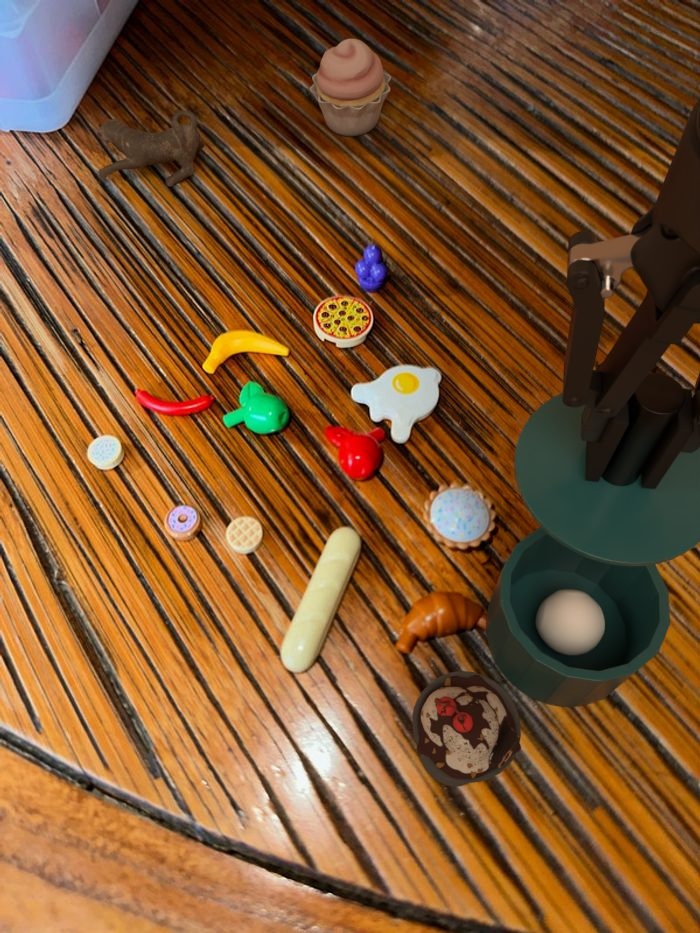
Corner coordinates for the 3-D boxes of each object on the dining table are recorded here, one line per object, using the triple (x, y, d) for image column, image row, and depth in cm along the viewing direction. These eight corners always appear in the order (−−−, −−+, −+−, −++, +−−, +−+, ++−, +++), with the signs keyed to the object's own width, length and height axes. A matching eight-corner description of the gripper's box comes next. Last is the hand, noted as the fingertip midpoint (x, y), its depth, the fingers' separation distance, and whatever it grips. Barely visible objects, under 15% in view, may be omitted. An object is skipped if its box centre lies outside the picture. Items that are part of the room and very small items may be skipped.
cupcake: (301, 138, 89) (293, 57, 80) (327, 89, 93) (322, 7, 85) (377, 153, 87) (377, 72, 79) (400, 103, 92) (403, 20, 83)
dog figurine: (211, 152, 89) (197, 93, 82) (206, 186, 86) (192, 129, 79) (109, 154, 89) (87, 97, 82) (101, 189, 86) (78, 132, 80)
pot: (631, 574, 62) (666, 531, 54) (635, 717, 56) (673, 692, 49) (490, 556, 63) (505, 512, 56) (480, 695, 58) (495, 666, 50)
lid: (712, 405, 50) (774, 313, 42) (724, 585, 44) (800, 517, 36) (518, 383, 51) (543, 290, 43) (505, 554, 45) (531, 482, 37)
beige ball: (593, 605, 60) (610, 583, 56) (597, 666, 58) (614, 648, 53) (530, 600, 61) (542, 577, 56) (531, 660, 58) (543, 642, 54)
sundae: (392, 724, 57) (396, 676, 44) (474, 690, 58) (501, 633, 45) (428, 814, 54) (443, 792, 41) (514, 777, 55) (556, 743, 42)
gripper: (1034, 71, 26) (750, 429, 47) (575, 42, 28) (494, 399, 49) (1098, 225, 23) (760, 539, 43) (568, 181, 25) (485, 502, 45)
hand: (620, 464), depth 46 cm, fingers closed on lid, 3 cm apart
